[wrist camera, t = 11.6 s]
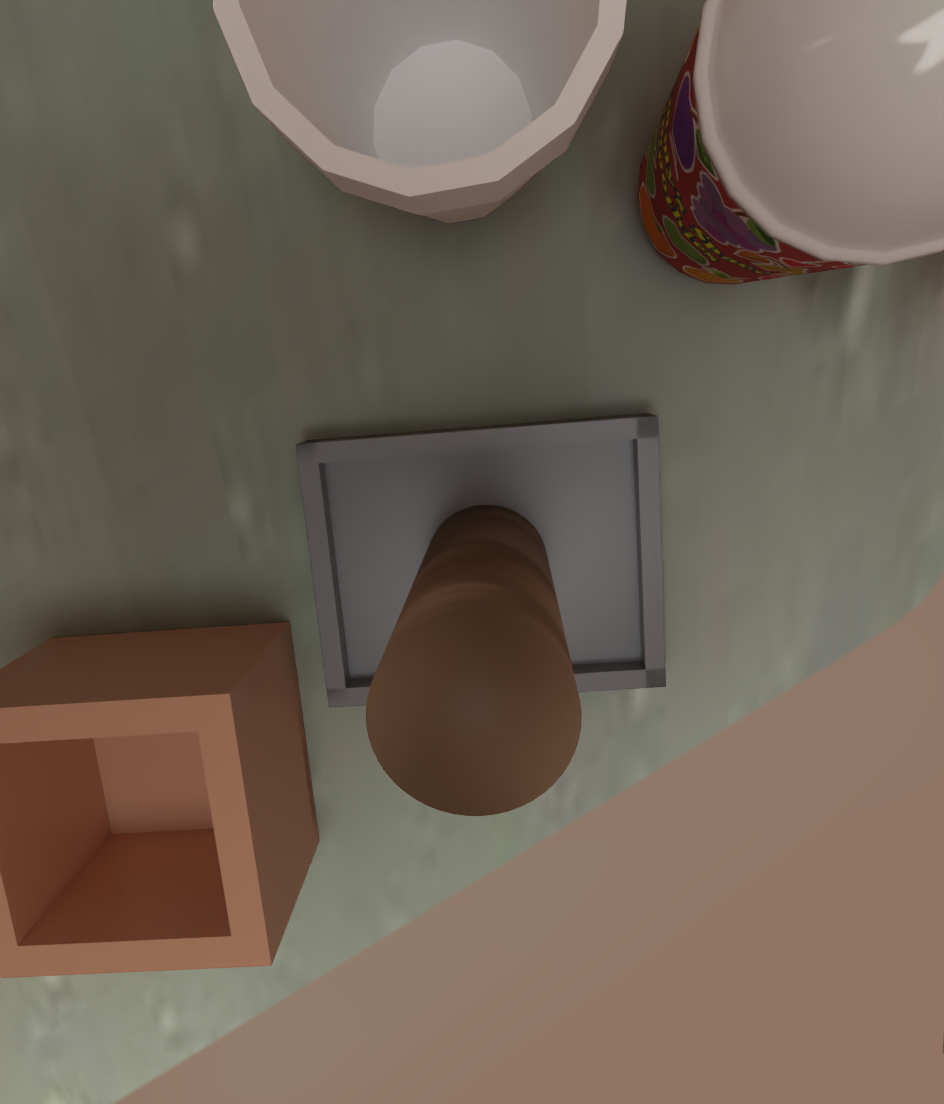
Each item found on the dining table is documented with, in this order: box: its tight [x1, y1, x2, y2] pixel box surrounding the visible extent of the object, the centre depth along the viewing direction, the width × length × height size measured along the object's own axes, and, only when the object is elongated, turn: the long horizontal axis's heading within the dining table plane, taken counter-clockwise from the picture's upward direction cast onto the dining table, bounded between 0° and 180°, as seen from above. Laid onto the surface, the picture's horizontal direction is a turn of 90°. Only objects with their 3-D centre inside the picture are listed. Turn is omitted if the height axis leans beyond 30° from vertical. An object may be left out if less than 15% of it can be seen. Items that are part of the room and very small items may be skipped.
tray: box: [296, 414, 666, 707], centre depth 33 cm, size 14×11×2 cm
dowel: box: [366, 505, 581, 816], centre depth 26 cm, size 5×5×15 cm
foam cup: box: [213, 0, 626, 223], centre depth 24 cm, size 10×9×13 cm
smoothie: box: [637, 0, 944, 284], centre depth 21 cm, size 8×8×20 cm
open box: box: [0, 622, 319, 978], centre depth 33 cm, size 11×11×8 cm
